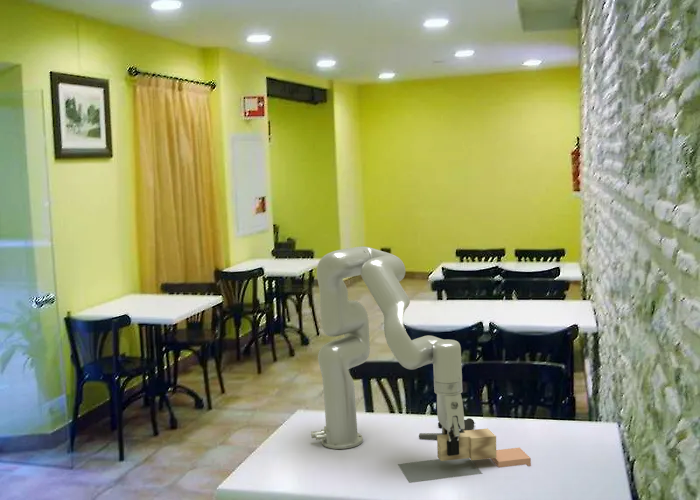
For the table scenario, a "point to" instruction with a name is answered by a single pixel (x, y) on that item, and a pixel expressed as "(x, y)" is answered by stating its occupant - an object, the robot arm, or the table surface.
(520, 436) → the table surface
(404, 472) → the rest mat
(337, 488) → the table surface
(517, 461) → the tan rectangular block
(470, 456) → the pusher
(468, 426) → the door handle
